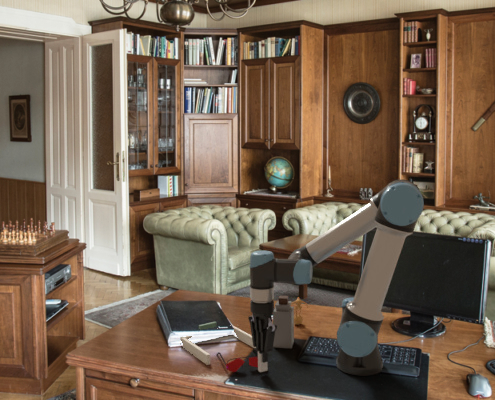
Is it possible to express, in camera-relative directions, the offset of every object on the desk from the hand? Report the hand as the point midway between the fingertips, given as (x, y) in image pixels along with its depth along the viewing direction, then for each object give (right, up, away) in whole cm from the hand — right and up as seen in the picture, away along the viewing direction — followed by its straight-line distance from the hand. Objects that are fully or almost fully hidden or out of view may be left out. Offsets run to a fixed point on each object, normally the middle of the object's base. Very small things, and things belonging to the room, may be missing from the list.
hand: (262, 370), depth 180 cm
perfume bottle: (+8, +2, +26) cm, 27 cm away
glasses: (-7, -1, +11) cm, 13 cm away
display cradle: (-15, +1, +23) cm, 27 cm away
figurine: (+16, +4, +46) cm, 48 cm away
